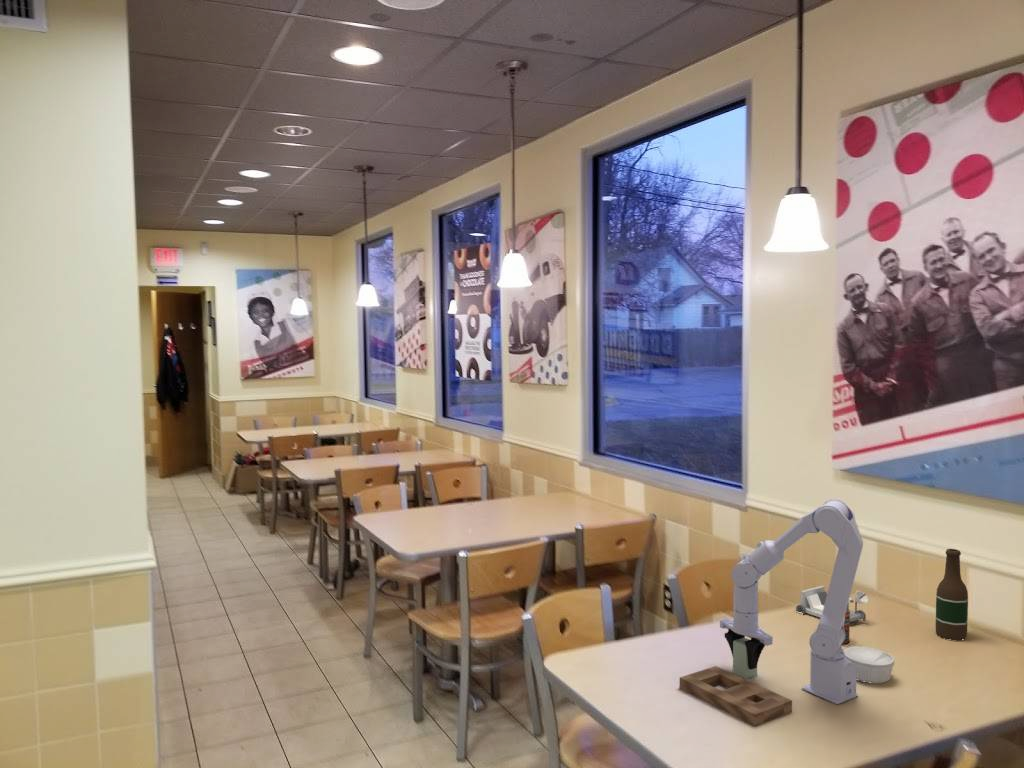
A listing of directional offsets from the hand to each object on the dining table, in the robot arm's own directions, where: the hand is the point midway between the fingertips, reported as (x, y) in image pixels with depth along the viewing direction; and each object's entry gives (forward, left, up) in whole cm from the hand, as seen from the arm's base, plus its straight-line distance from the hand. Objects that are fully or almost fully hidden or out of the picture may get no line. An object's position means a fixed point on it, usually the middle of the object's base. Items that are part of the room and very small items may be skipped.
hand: (745, 665), depth 190 cm
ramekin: (-17, -24, -3) cm, 30 cm away
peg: (0, 0, -2) cm, 2 cm away
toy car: (+13, -53, -3) cm, 55 cm away
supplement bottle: (+1, -38, -2) cm, 38 cm away
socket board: (-8, +13, -2) cm, 15 cm away
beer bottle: (-14, -67, -2) cm, 68 cm away
